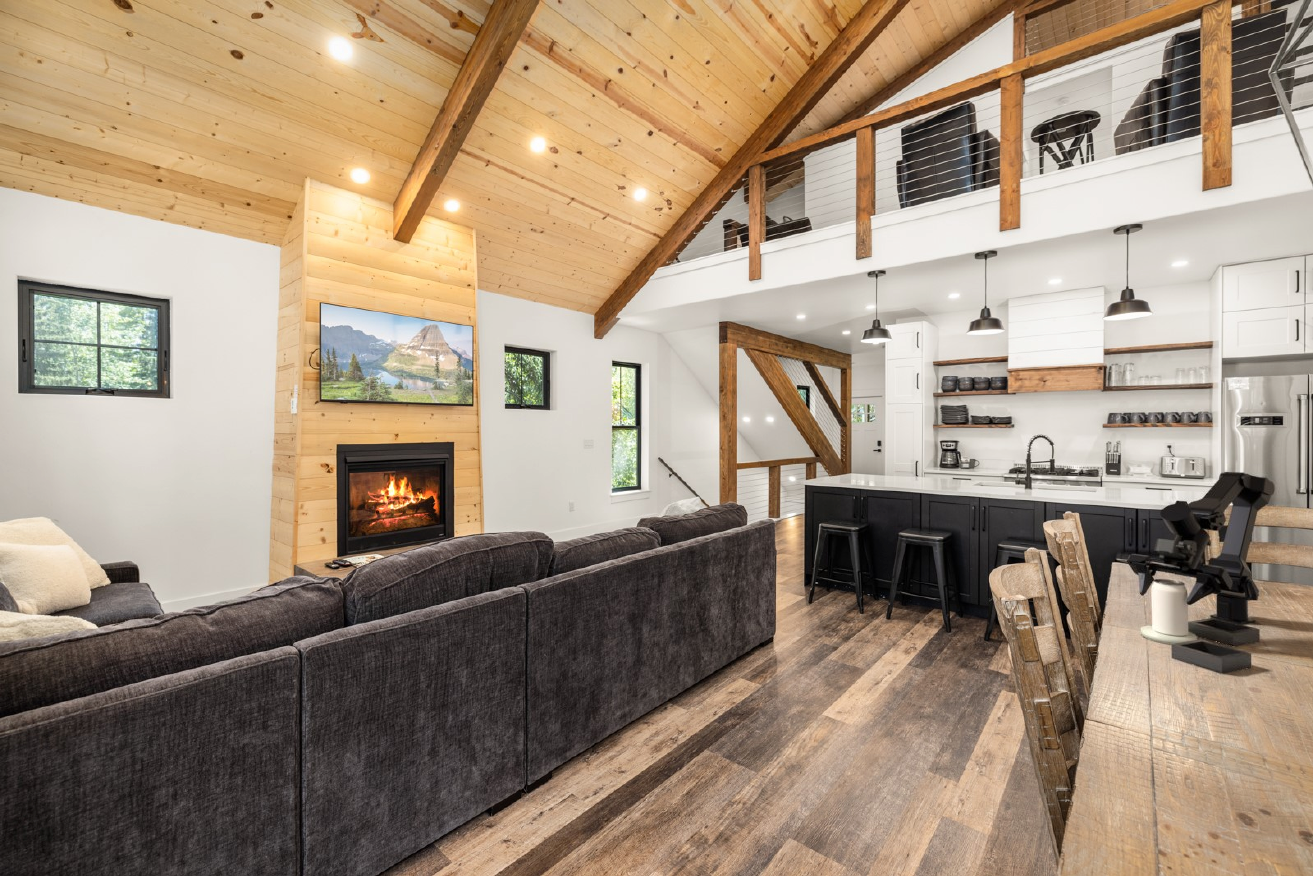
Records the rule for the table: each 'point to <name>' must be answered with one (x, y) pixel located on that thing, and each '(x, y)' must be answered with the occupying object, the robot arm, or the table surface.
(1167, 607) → the can
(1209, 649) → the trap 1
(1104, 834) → the table surface
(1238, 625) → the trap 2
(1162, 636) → the pad
